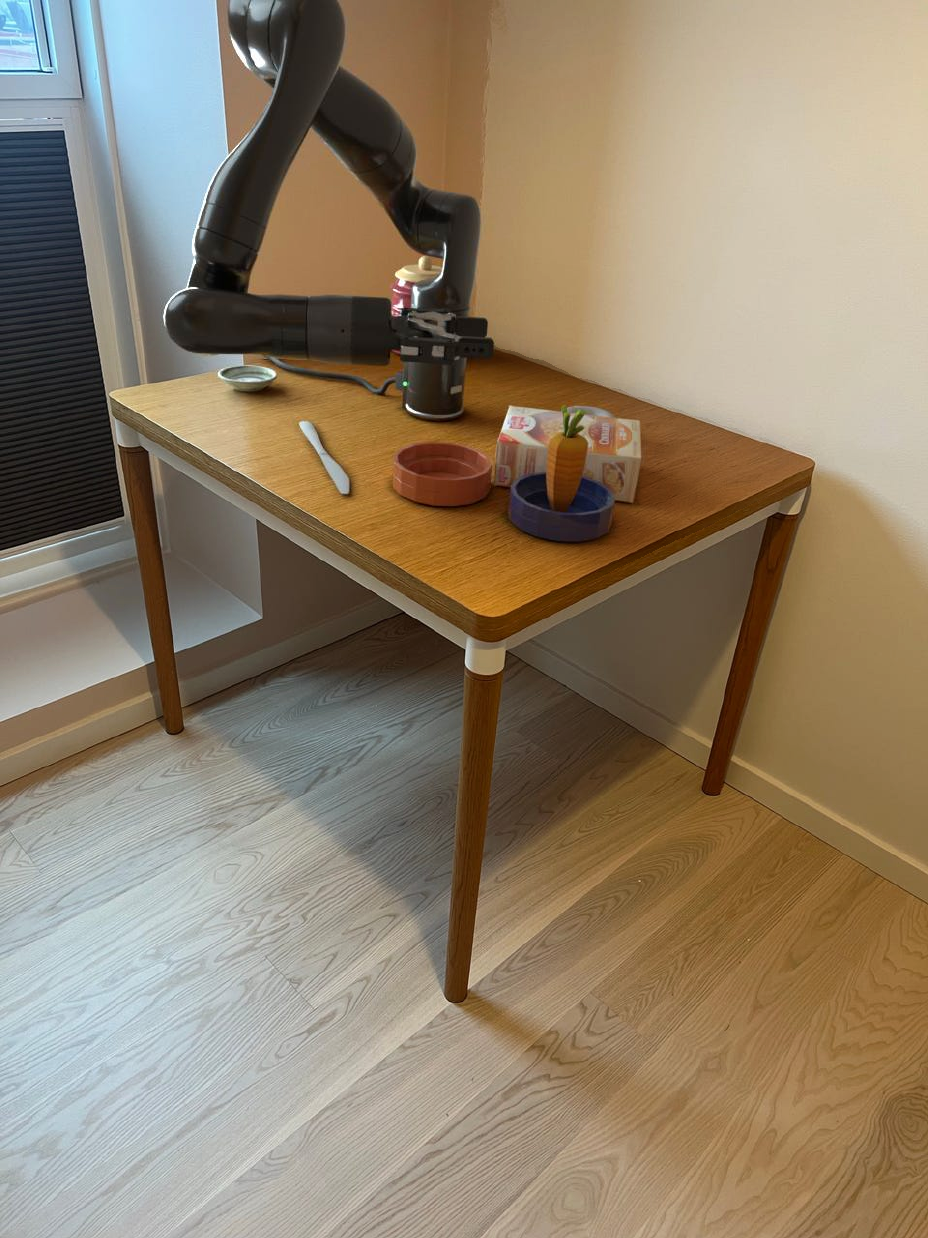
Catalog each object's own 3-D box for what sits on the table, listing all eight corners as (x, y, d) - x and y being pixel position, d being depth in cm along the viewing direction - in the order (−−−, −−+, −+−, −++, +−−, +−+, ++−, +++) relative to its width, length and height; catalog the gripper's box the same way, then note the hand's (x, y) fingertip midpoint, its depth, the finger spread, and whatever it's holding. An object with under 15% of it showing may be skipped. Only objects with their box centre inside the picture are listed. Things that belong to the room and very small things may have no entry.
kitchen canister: (381, 354, 176) (383, 258, 167) (396, 337, 187) (399, 246, 178) (447, 362, 175) (453, 266, 166) (459, 345, 186) (465, 253, 177)
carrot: (536, 509, 120) (550, 398, 113) (573, 510, 121) (590, 400, 113) (542, 526, 116) (557, 412, 108) (580, 527, 117) (598, 414, 109)
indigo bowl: (487, 518, 118) (490, 489, 116) (547, 490, 127) (551, 463, 125) (571, 554, 111) (576, 524, 109) (628, 522, 120) (634, 494, 118)
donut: (551, 440, 144) (614, 448, 142) (553, 419, 142) (617, 427, 141) (558, 420, 152) (618, 427, 151) (560, 399, 150) (621, 407, 149)
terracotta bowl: (372, 485, 124) (373, 457, 122) (437, 461, 133) (438, 434, 131) (445, 517, 117) (447, 488, 115) (508, 489, 126) (511, 462, 124)
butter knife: (316, 419, 142) (297, 419, 141) (358, 493, 121) (336, 493, 120) (316, 423, 142) (297, 423, 141) (358, 497, 121) (335, 497, 120)
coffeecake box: (642, 456, 121) (496, 439, 123) (633, 505, 125) (492, 488, 127) (640, 417, 134) (508, 403, 135) (632, 463, 137) (504, 448, 139)
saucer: (289, 387, 156) (289, 373, 155) (249, 400, 149) (248, 385, 148) (247, 374, 160) (246, 360, 159) (206, 386, 153) (205, 372, 152)
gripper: (346, 312, 96) (499, 320, 98) (352, 281, 108) (487, 289, 110) (346, 382, 100) (493, 389, 102) (351, 345, 112) (482, 352, 114)
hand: (490, 337), depth 106 cm, fingers open, 8 cm apart
